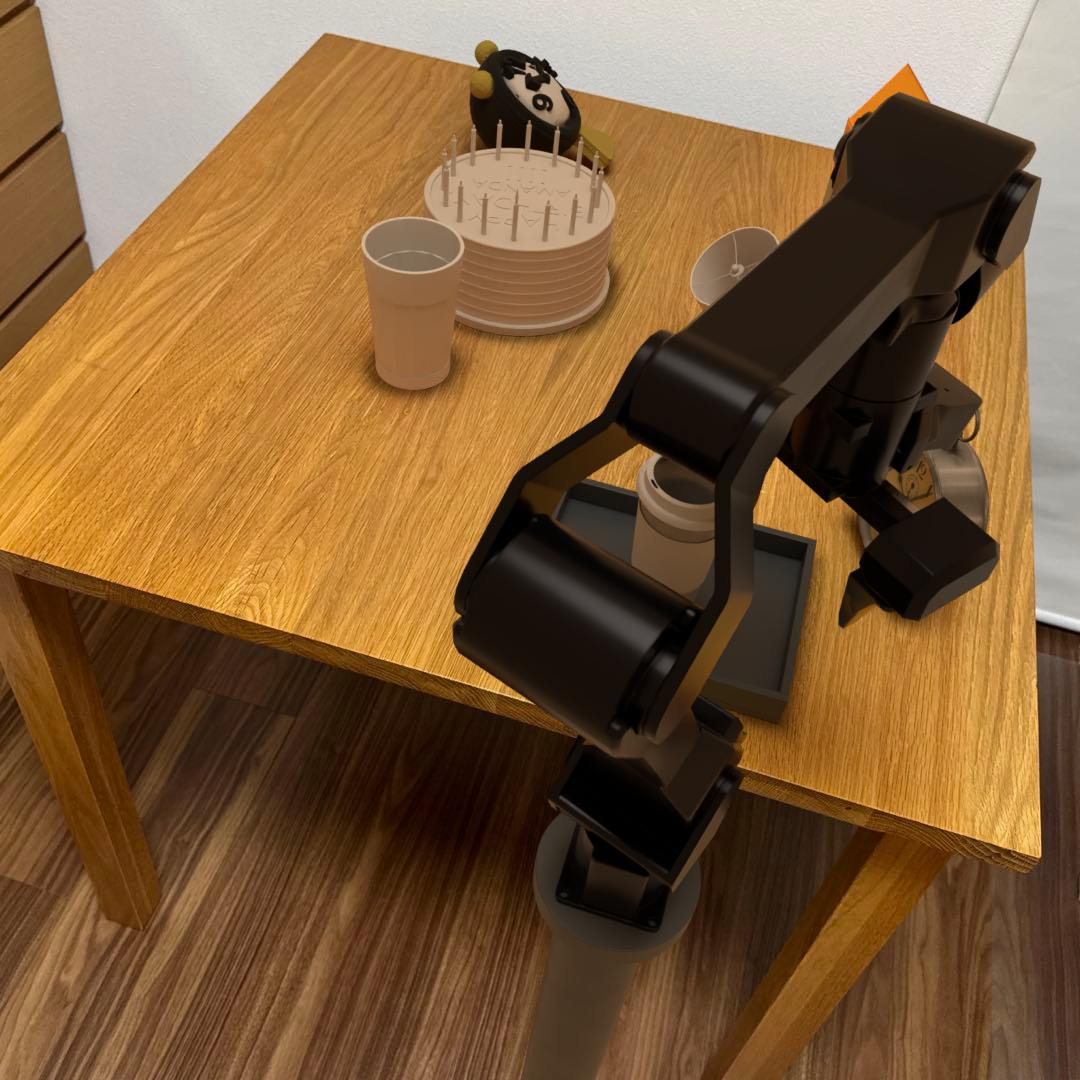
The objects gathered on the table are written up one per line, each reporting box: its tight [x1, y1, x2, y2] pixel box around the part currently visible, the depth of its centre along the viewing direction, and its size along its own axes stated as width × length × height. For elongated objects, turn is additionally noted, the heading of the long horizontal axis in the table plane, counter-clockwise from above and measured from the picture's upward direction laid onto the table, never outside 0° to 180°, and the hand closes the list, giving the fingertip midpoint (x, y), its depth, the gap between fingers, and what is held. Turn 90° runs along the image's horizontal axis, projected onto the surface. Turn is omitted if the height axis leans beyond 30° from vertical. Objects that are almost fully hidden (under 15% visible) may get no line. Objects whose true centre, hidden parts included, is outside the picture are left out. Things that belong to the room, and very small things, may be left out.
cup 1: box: [360, 216, 464, 391], centre depth 92 cm, size 8×8×12 cm
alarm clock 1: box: [468, 39, 614, 170], centre depth 118 cm, size 12×15×15 cm
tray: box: [551, 477, 818, 725], centre depth 80 cm, size 15×19×3 cm
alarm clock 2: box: [856, 408, 990, 549], centre depth 79 cm, size 11×5×16 cm, turn 10°
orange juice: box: [821, 62, 932, 206], centre depth 104 cm, size 8×9×20 cm
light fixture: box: [689, 226, 781, 312], centre depth 96 cm, size 10×16×17 cm
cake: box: [422, 120, 617, 337], centre depth 102 cm, size 18×18×13 cm
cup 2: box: [631, 452, 715, 602], centre depth 76 cm, size 7×7×12 cm
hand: (792, 570), depth 66 cm, fingers open, 9 cm apart
